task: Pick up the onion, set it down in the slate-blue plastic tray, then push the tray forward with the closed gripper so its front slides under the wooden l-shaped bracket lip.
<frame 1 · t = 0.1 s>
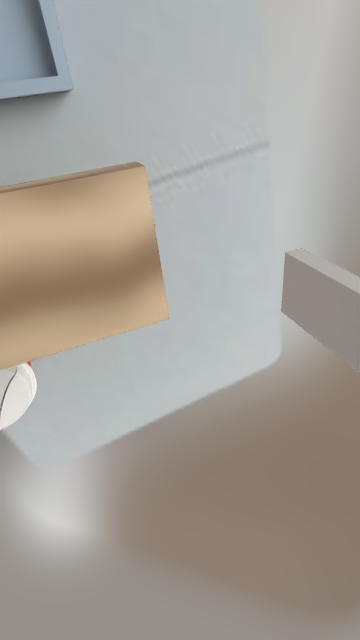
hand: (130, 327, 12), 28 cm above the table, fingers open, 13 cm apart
wooden l-shaped bracket: (30, 200, 34), on the table
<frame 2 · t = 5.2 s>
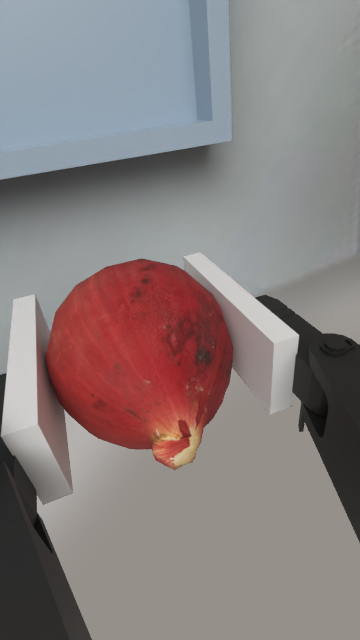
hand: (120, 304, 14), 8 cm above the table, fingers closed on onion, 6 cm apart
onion: (117, 298, 14), point 7 cm above the table, touching gripper
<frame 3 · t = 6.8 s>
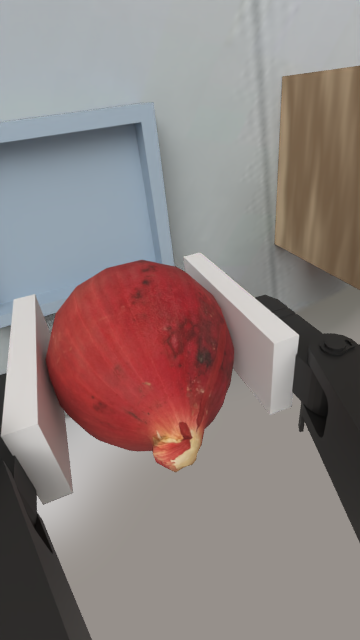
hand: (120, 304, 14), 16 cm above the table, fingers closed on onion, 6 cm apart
tray: (56, 215, 26), on the table
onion: (118, 299, 14), point 15 cm above the table, touching gripper
wooden l-shaped bracket: (245, 177, 30), on the table
when the fingers open (2 cm above the table, at t = 8.5 s): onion stays where it is, resting on tray.
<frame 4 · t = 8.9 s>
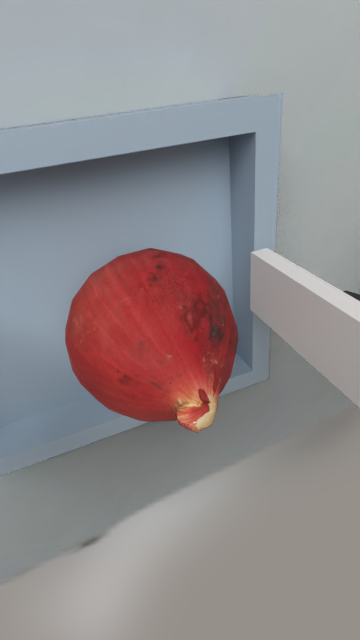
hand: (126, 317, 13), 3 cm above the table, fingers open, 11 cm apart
tray: (83, 288, 15), on the table, touching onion
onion: (121, 288, 15), point 1 cm above the table, touching tray
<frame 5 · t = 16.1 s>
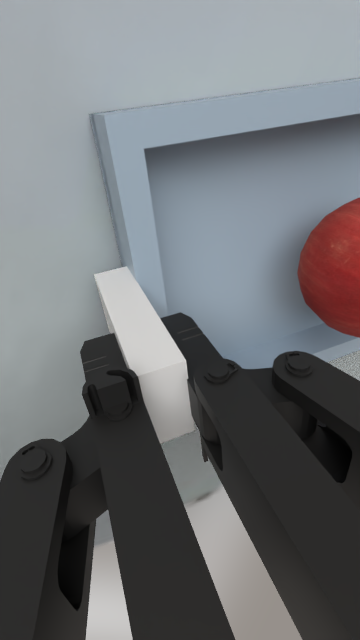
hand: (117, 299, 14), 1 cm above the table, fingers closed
tray: (276, 240, 17), on the table, touching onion
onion: (313, 239, 17), point 1 cm above the table, touching tray
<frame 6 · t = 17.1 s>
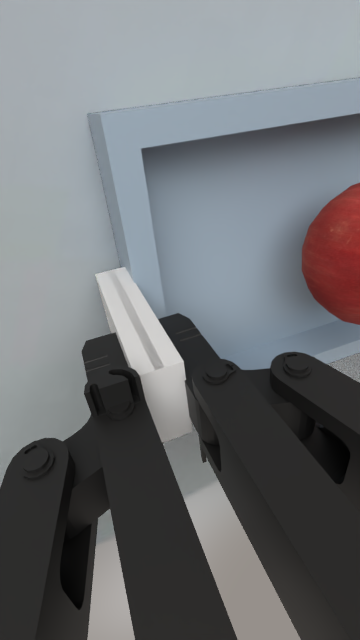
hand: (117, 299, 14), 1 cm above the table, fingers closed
tray: (277, 241, 17), on the table, touching gripper, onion
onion: (315, 242, 17), point 1 cm above the table, touching tray
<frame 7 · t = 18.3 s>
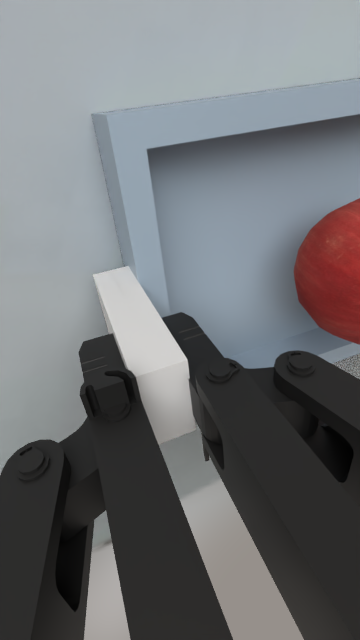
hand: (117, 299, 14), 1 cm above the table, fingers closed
tray: (280, 241, 17), on the table, touching gripper, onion
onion: (316, 241, 17), point 1 cm above the table, touching tray
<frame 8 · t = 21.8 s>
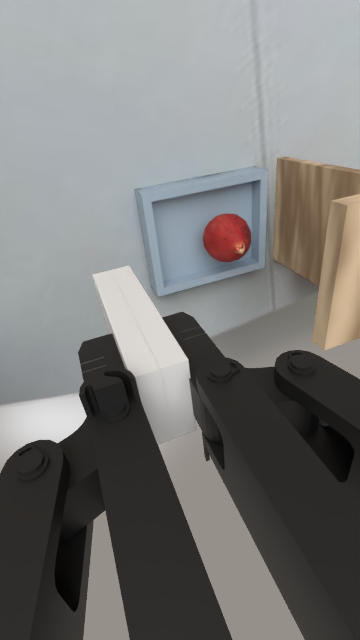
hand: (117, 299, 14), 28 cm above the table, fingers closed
tray: (201, 229, 45), on the table, touching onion
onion: (214, 228, 45), point 1 cm above the table, touching tray
wooden l-shaped bracket: (254, 217, 47), on the table
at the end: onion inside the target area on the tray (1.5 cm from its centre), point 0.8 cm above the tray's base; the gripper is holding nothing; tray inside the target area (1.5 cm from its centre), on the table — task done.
